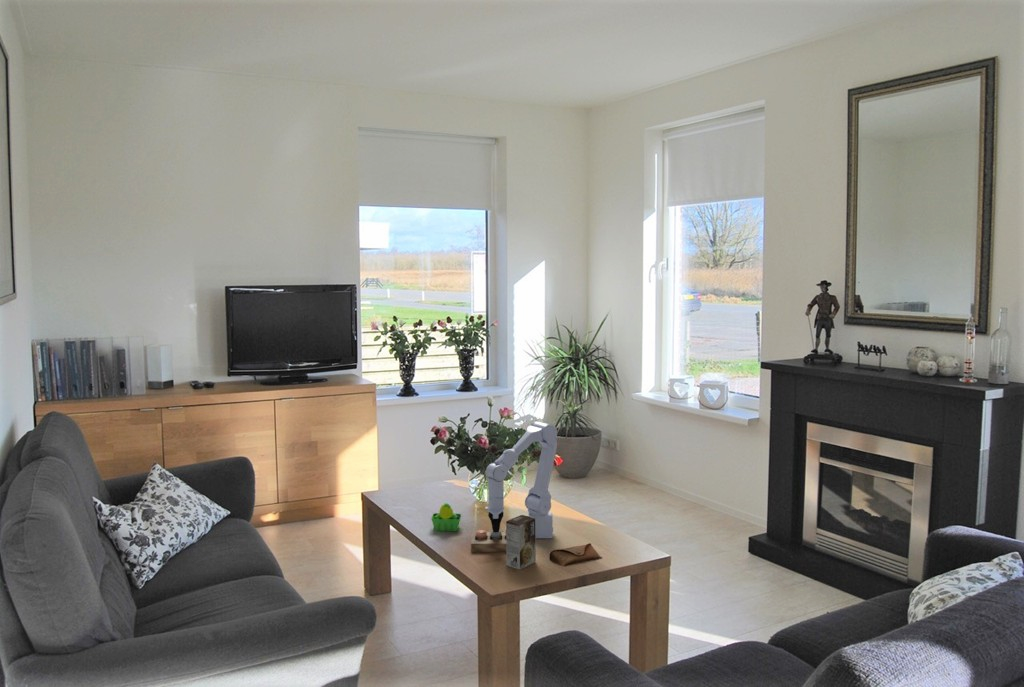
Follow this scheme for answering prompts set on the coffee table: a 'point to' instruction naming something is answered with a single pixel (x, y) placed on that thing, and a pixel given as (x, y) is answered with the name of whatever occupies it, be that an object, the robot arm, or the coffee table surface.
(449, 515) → the fruit basket
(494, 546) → the wooden tray
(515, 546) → the coffee box
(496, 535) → the blue-grey ball
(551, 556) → the sunglasses case
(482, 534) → the pink ball
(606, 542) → the coffee table surface
